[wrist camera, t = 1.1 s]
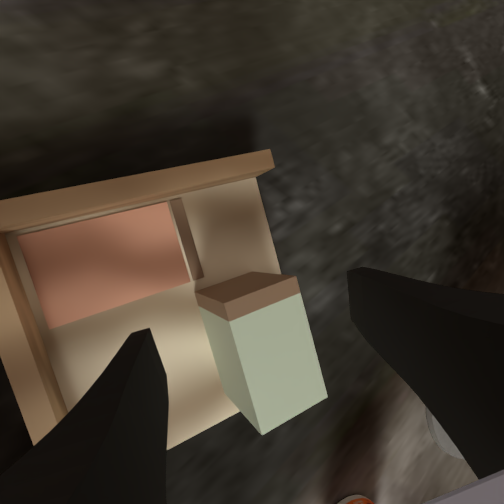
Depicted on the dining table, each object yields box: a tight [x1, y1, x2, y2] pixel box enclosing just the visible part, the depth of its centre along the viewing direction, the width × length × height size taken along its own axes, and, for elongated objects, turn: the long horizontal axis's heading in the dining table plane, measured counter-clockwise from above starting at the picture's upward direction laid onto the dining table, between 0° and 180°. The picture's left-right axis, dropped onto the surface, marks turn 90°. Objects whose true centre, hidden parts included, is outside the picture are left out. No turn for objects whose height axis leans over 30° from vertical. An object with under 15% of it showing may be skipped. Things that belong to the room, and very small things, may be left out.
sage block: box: [194, 271, 328, 435], centre depth 21 cm, size 8×4×6 cm, turn 16°
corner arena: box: [0, 149, 281, 450], centre depth 21 cm, size 17×17×4 cm
